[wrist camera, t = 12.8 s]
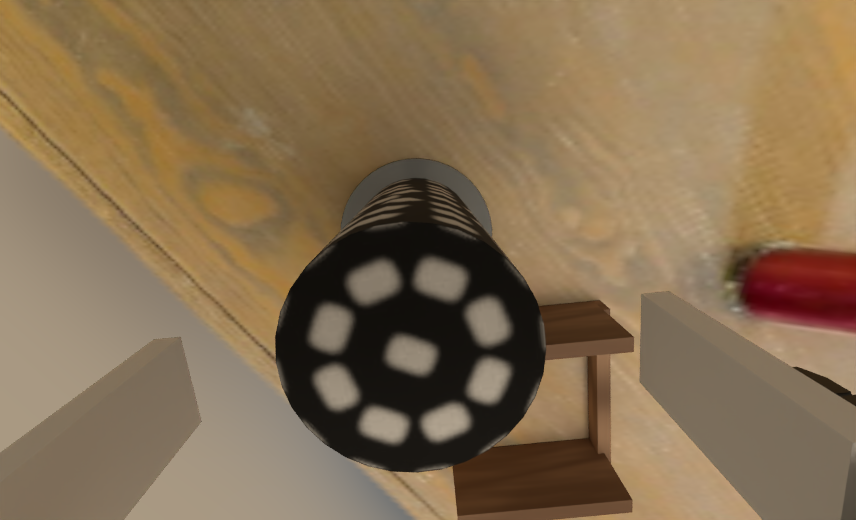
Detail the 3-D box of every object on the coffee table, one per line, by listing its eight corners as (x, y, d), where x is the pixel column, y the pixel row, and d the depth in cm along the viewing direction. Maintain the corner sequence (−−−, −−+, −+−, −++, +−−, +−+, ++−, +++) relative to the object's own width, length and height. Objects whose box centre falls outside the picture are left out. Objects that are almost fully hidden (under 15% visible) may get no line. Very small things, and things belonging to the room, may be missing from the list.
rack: (438, 315, 36) (442, 355, 29) (599, 300, 36) (641, 336, 29) (452, 461, 39) (458, 528, 32) (601, 447, 39) (639, 511, 32)
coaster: (331, 166, 33) (330, 166, 32) (485, 151, 33) (487, 151, 32) (352, 311, 36) (351, 314, 35) (495, 298, 36) (496, 300, 35)
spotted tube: (344, 268, 34) (244, 428, 15) (381, 160, 32) (320, 179, 13) (450, 305, 35) (486, 502, 16) (491, 201, 33) (590, 277, 14)
